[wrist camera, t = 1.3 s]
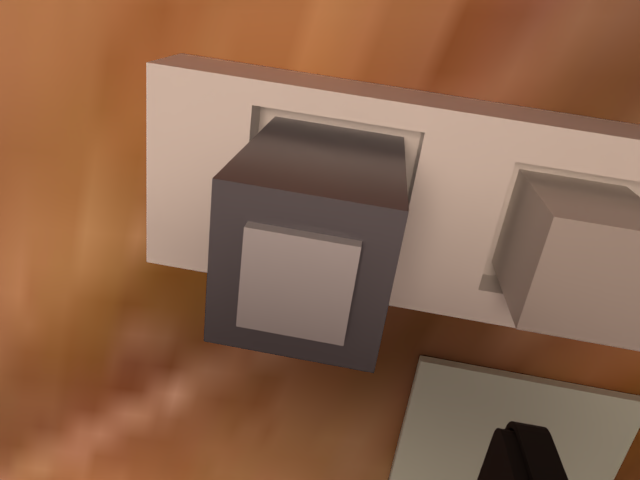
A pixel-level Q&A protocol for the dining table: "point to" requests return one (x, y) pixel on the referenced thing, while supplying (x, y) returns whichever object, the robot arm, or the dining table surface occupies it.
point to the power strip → (420, 155)
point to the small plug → (572, 259)
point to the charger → (306, 242)
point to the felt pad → (498, 410)
